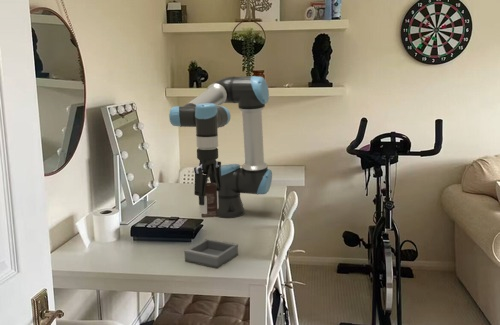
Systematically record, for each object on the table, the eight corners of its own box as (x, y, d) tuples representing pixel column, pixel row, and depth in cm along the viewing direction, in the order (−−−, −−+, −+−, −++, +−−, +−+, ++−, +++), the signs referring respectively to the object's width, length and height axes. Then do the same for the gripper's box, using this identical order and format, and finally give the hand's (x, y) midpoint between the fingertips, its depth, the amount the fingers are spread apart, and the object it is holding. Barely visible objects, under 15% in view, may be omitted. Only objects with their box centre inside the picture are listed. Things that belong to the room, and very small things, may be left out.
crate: (206, 248, 193) (206, 238, 192) (238, 255, 186) (238, 244, 185) (184, 261, 181) (184, 250, 180) (217, 268, 174) (217, 257, 173)
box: (217, 213, 183) (216, 181, 180) (217, 217, 178) (216, 184, 176) (201, 214, 182) (199, 182, 180) (200, 218, 178) (199, 185, 175)
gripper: (214, 143, 186) (215, 202, 190) (181, 151, 169) (184, 216, 173) (231, 144, 182) (232, 205, 186) (199, 153, 165) (202, 219, 170)
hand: (209, 210), depth 180 cm, fingers closed on box, 7 cm apart
